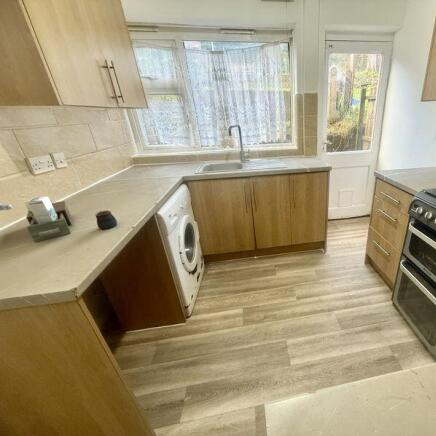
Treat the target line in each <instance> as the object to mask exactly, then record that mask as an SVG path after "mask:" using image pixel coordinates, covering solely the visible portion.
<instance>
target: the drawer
mask: <svg viewBox="0 0 436 436" xmlns="http://www.w3.org/2000/svg"><path fill="white" fill-rule="evenodd" d="M56 214H57V216H58V218H59V219H58V220H54V221H49V222H45V223H40V224H35V222H34V220H33V218H32V220H31V224H29V225H27V226H26V228H27V231H28V232H29V234H30V236H31V238H32V240H33V242H34V243H37V242H41V241H45V240H49V239H53V238H56V237H60V236H65V235H69V234H71V229H70V226H68V222H67V220H66V218H65V215H64V213H63V212H59V213H56Z"/></svg>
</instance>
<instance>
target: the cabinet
mask: <svg viewBox="0 0 436 436" xmlns="http://www.w3.org/2000/svg"><path fill="white" fill-rule="evenodd" d="M66 203H67V202H66V201H65V200H62V201H55V202H51V204H52V206H53V208H54V210H55V212H56V213H59V212H63V213H64V215H65V218H66V220H67V222H68V227H71V226H73V222H72V215H71V213H70V210H69V209H68V206H67V204H66ZM26 220H27V222H28V224H29V225H30V224H31V220H32V216H31V214H30V212H29V210H27V214H26Z"/></svg>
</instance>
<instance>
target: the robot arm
mask: <svg viewBox="0 0 436 436" xmlns="http://www.w3.org/2000/svg"><path fill="white" fill-rule="evenodd" d="M11 209H13V206H12V205H11V204H1V203H0V212H2V211H10V210H11Z"/></svg>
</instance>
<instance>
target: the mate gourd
mask: <svg viewBox="0 0 436 436" xmlns="http://www.w3.org/2000/svg"><path fill="white" fill-rule="evenodd" d="M95 218H96V225H97V227H98V228H99V230H100V231H105V230H110V229H114V228H115V227H117V226H118V220H117V219H116V217H115V216H114V215H113V214H112V212H111V210H102V211H101V210H100V211H98V212H96V213H95Z"/></svg>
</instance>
